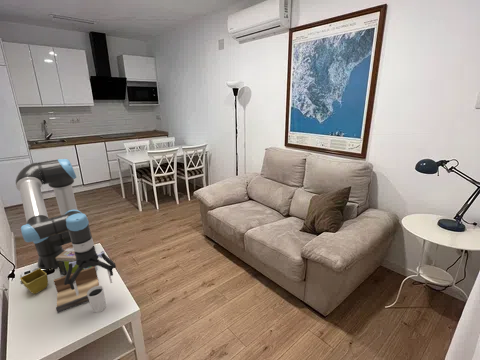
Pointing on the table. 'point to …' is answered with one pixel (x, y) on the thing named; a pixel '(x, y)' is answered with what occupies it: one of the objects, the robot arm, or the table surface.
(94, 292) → the white paper cup
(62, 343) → the table surface
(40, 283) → the flower pot
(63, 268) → the tea box
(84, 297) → the wooden wall shelf
